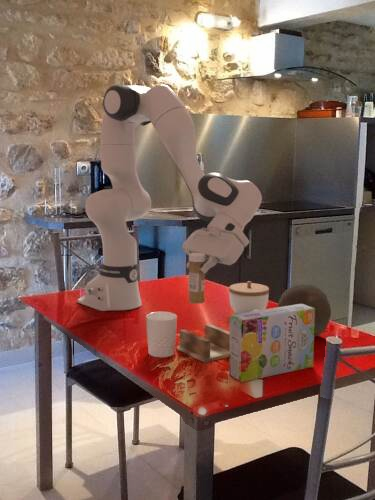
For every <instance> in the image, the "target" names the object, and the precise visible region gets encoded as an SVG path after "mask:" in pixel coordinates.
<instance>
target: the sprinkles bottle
mask: <svg viewBox="0 0 375 500" xmlns="http://www.w3.org/2000/svg"><path fill="white" fill-rule="evenodd" d="M188 262H189V269H188V300H187V301H188V302H189V303H190V304H196V305H197V304H203V303H205V301H206V300H205V291H206V289H205V288H206V284H205V280H206V278H205V277H206V273H202V272H200V271H199V268H200V267H201V265H202V264H203V265H204V264H205V263H206V262H207V260H206V255H205V254H202V253H191V254H189V255H188Z"/></svg>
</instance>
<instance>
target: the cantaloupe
mask: <svg viewBox="0 0 375 500" xmlns="http://www.w3.org/2000/svg"><path fill="white" fill-rule="evenodd" d="M277 303H278V304H277V307H283V306H290V305H296V304H304V305H307V306H310V307H312V308H315V321H314V338H315V337H317V336H319V335H322V334H323V333H324V332H325V331H326V330H327V329H328V326H329V323H330V320H331V319H330V318H331V316H332V315H331V314H332V311H331V305H330V302H329V300H328V297H327V295H326V294H325V292H323V290H321V289H320V287H317V286H315V285H313V284H295V285H292V286H290V287H288V288H287V289H286V290H285V291H284V292H283V293H282V294H281V296H280V298H279V300H278V302H277Z"/></svg>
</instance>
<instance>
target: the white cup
mask: <svg viewBox="0 0 375 500" xmlns="http://www.w3.org/2000/svg"><path fill="white" fill-rule="evenodd" d="M145 317H146V318H145V321H146V322H145V323H146V335H147V336H146V340H147V344H148V345H147V346H148V348H147V349H148V355H149V356H151V357H154V358H168V357H173V355H174V354H175V348H176V341H177V340H176V339H177V326H178V325H177V323H178V322H177V321H178V314H176V313H174V312H170V311H153V312H150V313H148V314H146V315H145Z"/></svg>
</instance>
